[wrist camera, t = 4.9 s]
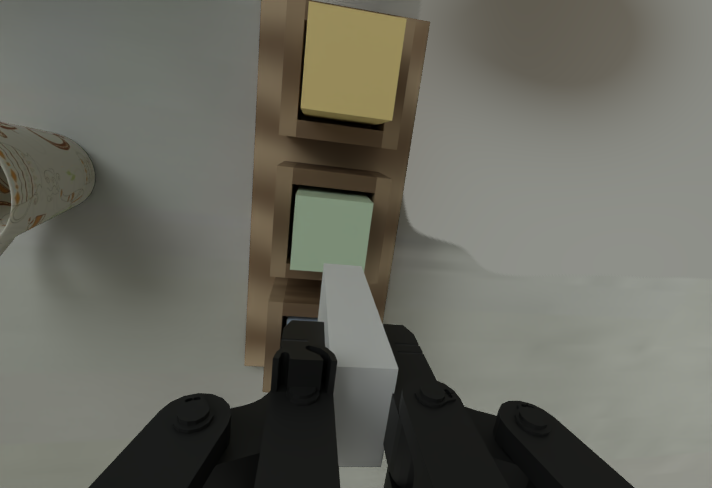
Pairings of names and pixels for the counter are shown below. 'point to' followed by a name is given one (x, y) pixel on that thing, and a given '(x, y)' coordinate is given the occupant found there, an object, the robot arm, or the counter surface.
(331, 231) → the button sage
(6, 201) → the mug
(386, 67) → the button ochre
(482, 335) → the counter surface
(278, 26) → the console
